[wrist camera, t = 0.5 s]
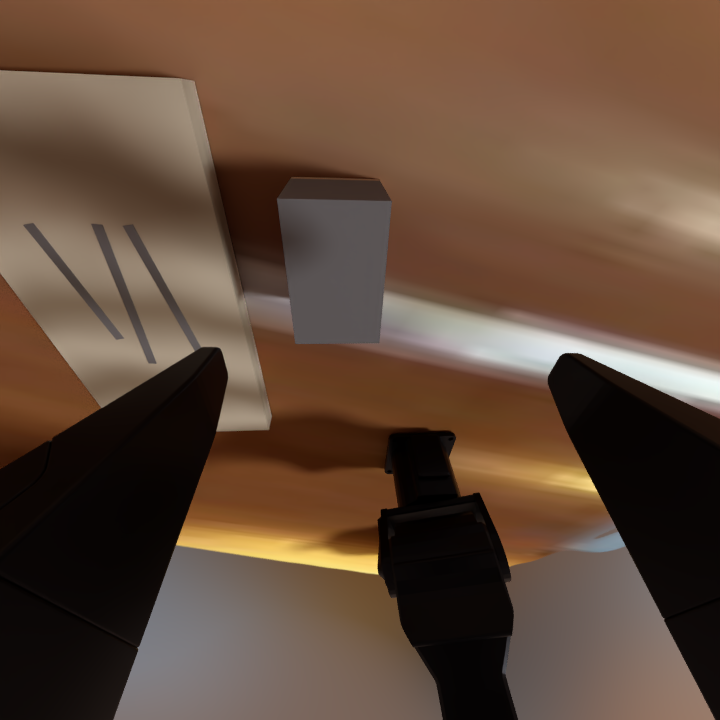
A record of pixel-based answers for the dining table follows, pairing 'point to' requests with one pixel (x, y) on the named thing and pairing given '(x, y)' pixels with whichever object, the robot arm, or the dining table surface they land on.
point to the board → (122, 233)
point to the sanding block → (335, 257)
